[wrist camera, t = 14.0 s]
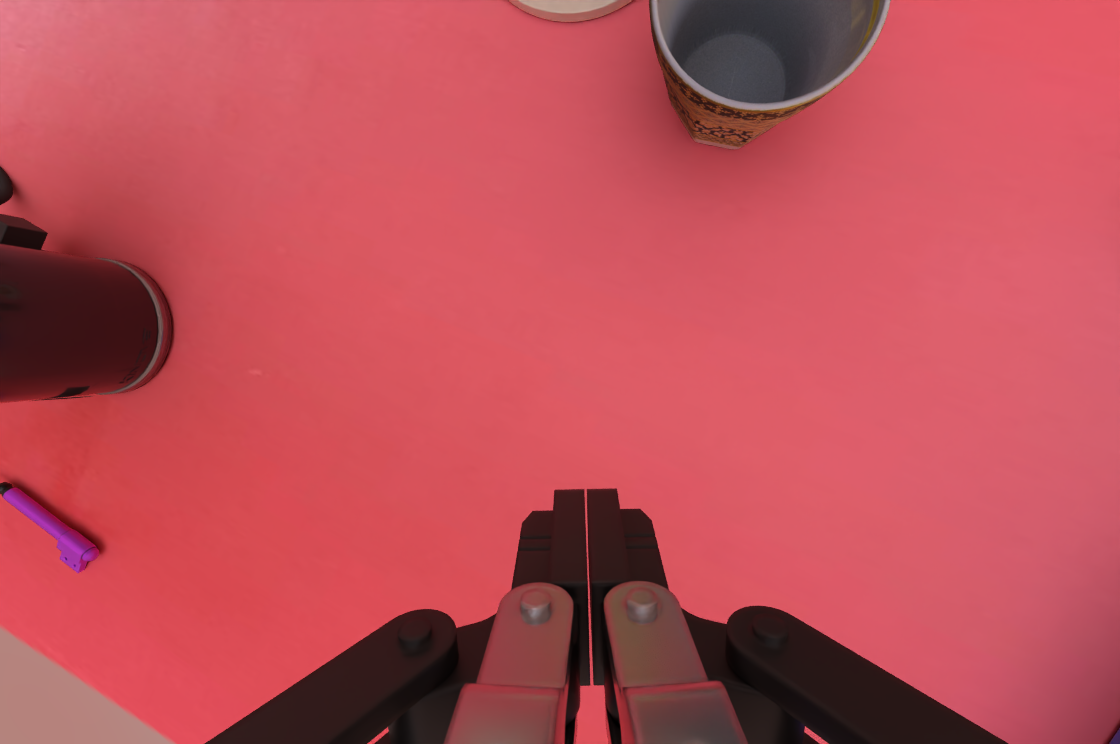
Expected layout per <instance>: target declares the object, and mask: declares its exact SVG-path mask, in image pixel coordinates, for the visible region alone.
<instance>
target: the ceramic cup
mask: <svg viewBox="0 0 1120 744" xmlns="http://www.w3.org/2000/svg"><path fill="white" fill-rule="evenodd" d="M890 1H891V0H649V8H650V20H651V30H652V36H653V41H654V46H655V50H656V54H657V58H658V61H659V64H660V66H661V68H662V71H663V75H664V79H665V82H666V86H667V90H668V94H669V99H670V101H671V105H672V106H673V108H674V110H675V112H676V113H677V115H678V116H679V118H680V120H681V121H682V123H683V124H684V126H685V128H686V129H687V131H688V133H689V134H690V136H691V137H692V139H693V140H694V141H696V142H698V143H702V144H707V145H712V146H717V147H722V148H728V149H739V148H741V147H743V146H744V145H746V144H747V143H749V142H750V141H752V140H754V139H755V138H757V137H758V136H760V135H761V134H763V133H765V132H766V131H768V130H769V129H771V128H772V127H774V126H775V125H777V124H778V123H780V122H782V121H784V120H786V119H788V118H790V117H792V116H793V115H795V114H797V113H799V112H801V111H802V110H804V109H805V108H807V107H808V106H810V105H811V104H813V103H814V102H816V101H818V100H819V99H820V98H822V97H823V96H825V95H826V94H827V93H829V92H830V91H831V90H833V89H834V88H835V87H836V86H838V85H839V84H840V83H841V82H843V81H844V80H845V79H846V78H847V77H848V76H849V75H850V74H851V73H852V72H853V71H854V70H855V69H856V68H857V67H858V66H859V65H860V64H861V63H862V61H863V60H864V59H865V57H866V56H867V55H868V53H869V52H870V50H871V49H872V47H873V45H874V44H875V42H876V40H877V38H878V36H879V34H880V32H881V30H882V28H883V25H884V23H885V20H886V17H887V13H888V10H889V5H890Z"/></svg>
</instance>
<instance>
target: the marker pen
mask: <svg viewBox="0 0 1120 744" xmlns="http://www.w3.org/2000/svg"><path fill="white" fill-rule="evenodd" d="M0 494H2V496H3V498H4V499H5V500H6V501H7V502H9V503H10V504H11V505H13V506H14V507H15V508H17V509H18V510H19V511H20V512H22V513H23V514H24V515H26V516H27V517H28V518H30V519H31V520H32V521H33V522H35V523H36V524H37V525H39V526H40V527H41V528H42V529H44V530H45V531H46V532H48V533H49V534H50V535H52V536H53V537H54V538H55V539H57V540H58V544H57V548H58V549H59V550H61V551H62V552H61V555H60V560H62V561H63V562H64V563H66V564H67V565H68V566H69V567H71V568H72V569H73V570H75V571H76V572H77V573H79V572H81V571H83V570H85V567H86V564H87V561H93V560H95V559H96V558H97V557H98V555H99V550H98V549H97V546H96V545H94V544H93V543H92V542H90V541H89V540H88V539H87V538H85V537H84V536H83V535H81V534H80V533H79V532H77V531H76V530H74V529H73V530H72V529H71V528H70V527H68V526H67V525H66V524H64V523H63V522H62V521H61V520H59V519H58V518H57V517H55V516H54V515H53V514H51V513H50V512H49V511H47V510H46V509H45V508H43V507H42V506H41V505H40V504H38V503H37V502H36V501H34V500H33V499H32V498H30V497H29V496H28V495H27V494H25V493H24V492H23V491H21V490H20V489H19V488H16V487H12V484H10V483H7V482H3V483H0Z"/></svg>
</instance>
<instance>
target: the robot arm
mask: <svg viewBox="0 0 1120 744" xmlns="http://www.w3.org/2000/svg"><path fill="white" fill-rule="evenodd" d="M12 195H13V187H12V183H11V181H10V179H9V177H8V175H7V174H6V173H5V171H4V170H3V169H2V168H1V167H0V205H1V204H3V203H5V202H7V201H8V200H9V199H10V198H11V197H12ZM47 234H48V233H47V232H45V231H44V230H42V229H40V228H39V227H37V226H35V225H34V224H32V223H30V222H29V221H27V220H25V219H23V218H18V217H13V216H8V215H4V214H0V403H6V402H17V401H27V400H31V401H36V400H37V399H42V400H52V399H48V398H55V399H69V398H58V397H70V396H80V395H89V394H100V395H102V394H116V393H124V392H128V391H132V390H134V389H137V388H139V387H141V386H142V385H144V384H145V383H147V382H148V381H149V380H150V379H151V378H152V377H153V376H154V375H155V374H156V373H157V372H158V371H159V369H160V368H161V366H162V364H163V363H164V361H165V359H166V356H167V354H168V350H169V347H170V342H171V330H172V327H171V317H170V312H169V308H168V305H167V302H166V300H165V298H164V296H163V294H162V292H161V290H160V289H159V287H158V286H157V284H156V283H155V282H154V281H153V280H152V279H151V278H150V277H149V276H148V275H147V274H146V273H145V272H143V271H142V270H141V269H139V268H137V267H135V266H134V265H131V264H129V263H126V262H123V261H117V260H111V259H105V258H89V257H83V256H76V255H70V254H64V253H58V252H51V251H45V250H41V248H42V246H43V243H44V241H45V239H46V236H47ZM87 397H91V396H87ZM71 398H81V397H71ZM587 517H588V557H589V584H590V608H591V633H592V657H593V681H594V685H604V688H605V710H606V730H607V737H608V743H609V744H819V743H818V742H817V741H815V740H814V739H813V738H811V737H810V736H809V735H807V734H806V733H805V732H804V729H805V726H806V727H807V728H809V729H810V730H811V731H813V732H814V733H815V734H817V735H818V736H819V737H821V738H822V739H823V740H825V741H826V742H827V743H829V744H1008V743H1007V742H1005V741H1003V740H1002V739H1000V738H998V737H996V736H995V735H993V734H991V733H990V732H988V731H986V730H985V729H983V728H981V727H980V726H978V725H976V724H975V723H973V722H971V721H969V720H968V719H966V718H964V717H963V716H961V715H959V714H958V713H956V712H954V711H953V710H951V709H949V708H947V707H946V706H944V705H942V704H941V703H939V702H937V701H936V700H934V699H932V698H931V697H929V696H927V695H926V694H924V693H922V692H920V691H919V690H917V689H915V688H914V687H912V686H910V685H909V684H907V683H905V682H904V681H902V680H900V679H899V678H897V677H895V676H893V675H892V674H890V673H888V672H887V671H885V670H883V669H882V668H880V667H878V666H877V665H875V664H873V663H871V662H870V661H868V660H866V659H865V658H863V657H861V656H860V655H858V654H856V653H855V652H853V651H851V650H850V649H848V648H846V647H844V646H843V645H841V644H839V643H838V642H836V641H834V640H833V639H831V638H829V637H828V636H826V635H824V634H823V633H821V632H819V631H817V630H816V629H814V628H812V627H811V626H809V625H807V624H806V623H804V622H802V621H801V620H799V619H797V618H795V617H794V616H792V615H790V614H788V613H786V612H784V611H781V610H779V609H775V608H772V607H766V606H749V607H744V608H742V609H739V610H737V611H735V612H734V613H733V614H732V615H731V616H730V618H729V619H728V622H727V624H723V623H719V622H714V621H710V620H706V619H702V618H699V617H697V616H694V615H692V614H690V613H688V612H687V611H685V610H684V609H682V608H681V607H680V604H679V602H678V600H677V598H676V597H675V595H674V594H673V593H672V592H670V591H669V589H668V585H667V581H666V577H665V573H664V569H663V565H662V560H661V556H660V552H659V548H658V544H657V540H656V537H655V532H654V528H653V524H652V520H651V519H650V518H649V517H648V516H647V515H646V514H645V513H644V512H643V511H642V510H641V509H620V506H619V500H618V493H617V489H587ZM580 686H590V658H589V618H588V580H587V552H586V525H585V497H584V489H572V490H555V491H554V505H553V511H532V513H531V514H530V515H529V516H528V517H527V518H526V519H525V520H524V522H523V523H522V527H521V533H520V539H519V546H518V552H517V558H516V564H515V570H514V576H513V582H512V588H511V591H510V592H508V593H507V594H506V595H505V596H504V597H503V598H502V600H501V602H500V604H499V607H498V610H497V613H496V614H495V615H493V616H491V617H490V618H488V619H485V620H483V621H481V622H477V623H474V624H470V625H466V626H462V627H459V628H456V625H455V623H454V621H453V620H452V618H451V617H450V616H448V615H447V614H445V613H443V612H441V611H438V610H432V609H421V610H415V611H410V612H407V613H404V614H402V615H400V616H398V617H396V618H394V619H393V620H391V621H389V622H388V623H386V624H385V625H383V626H382V627H380V628H379V629H377V630H376V631H374V632H373V633H371V634H370V635H368V636H367V637H365V638H364V639H362V640H361V641H359V642H358V643H356V644H355V645H353V646H352V647H350V648H349V649H347V650H346V651H344V652H343V653H341V654H340V655H338V656H337V657H335V658H334V659H332V660H330V661H329V662H327V663H326V664H324V665H323V666H321V667H320V668H318V669H317V670H315V671H314V672H312V673H311V674H309V675H308V676H306V677H305V678H303V679H302V680H300V681H299V682H297V683H296V684H294V685H293V686H291V687H290V688H288V689H287V690H285V691H284V692H282V693H281V694H279V695H278V696H276V697H275V698H273V699H272V700H270V701H268V702H267V703H265V704H264V705H262V706H261V707H259V708H258V709H256V710H255V711H253V712H252V713H250V714H249V715H247V716H246V717H244V718H243V719H241V720H240V721H238V722H237V723H235V724H234V725H232V726H231V727H229V728H228V729H226V730H225V731H223V732H222V733H220V734H219V735H217V736H216V737H214V738H213V739H211V740H210V741H208V742H206V743H205V744H367V743H369V742H370V741H371V740H372V739H373V738H375V737H376V736H377V735H378V734H380V733H381V732H382V731H383V730H384V729H386V728H387V727H388V729H389V732H388V733H387V734H385V735H384V736H383V737H382V738H381V739H379V740H378V741H377V742H376V743H375V744H576V737H577V712H578V710H579V707H580Z"/></svg>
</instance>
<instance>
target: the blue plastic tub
mask: <svg viewBox="0 0 1120 744" xmlns="http://www.w3.org/2000/svg"><path fill="white" fill-rule="evenodd" d="M1109 744H1120V728H1119V730H1118V731H1117V733H1116V734H1115V736H1114V737H1113V739H1112V740H1111V742H1110V743H1109Z"/></svg>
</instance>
